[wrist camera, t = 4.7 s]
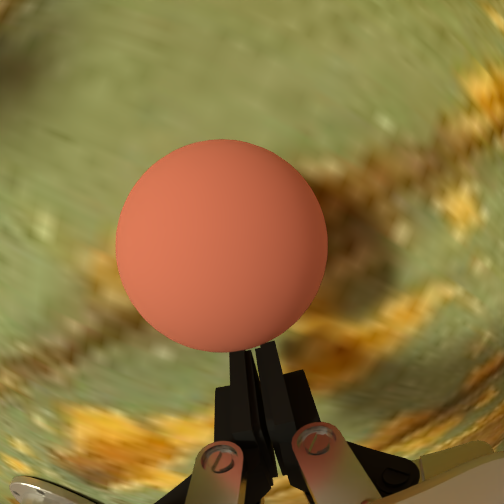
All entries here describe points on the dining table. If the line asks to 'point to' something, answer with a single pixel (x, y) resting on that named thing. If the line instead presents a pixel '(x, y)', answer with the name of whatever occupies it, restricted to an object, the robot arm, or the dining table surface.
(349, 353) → the dining table surface
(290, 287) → the ball
